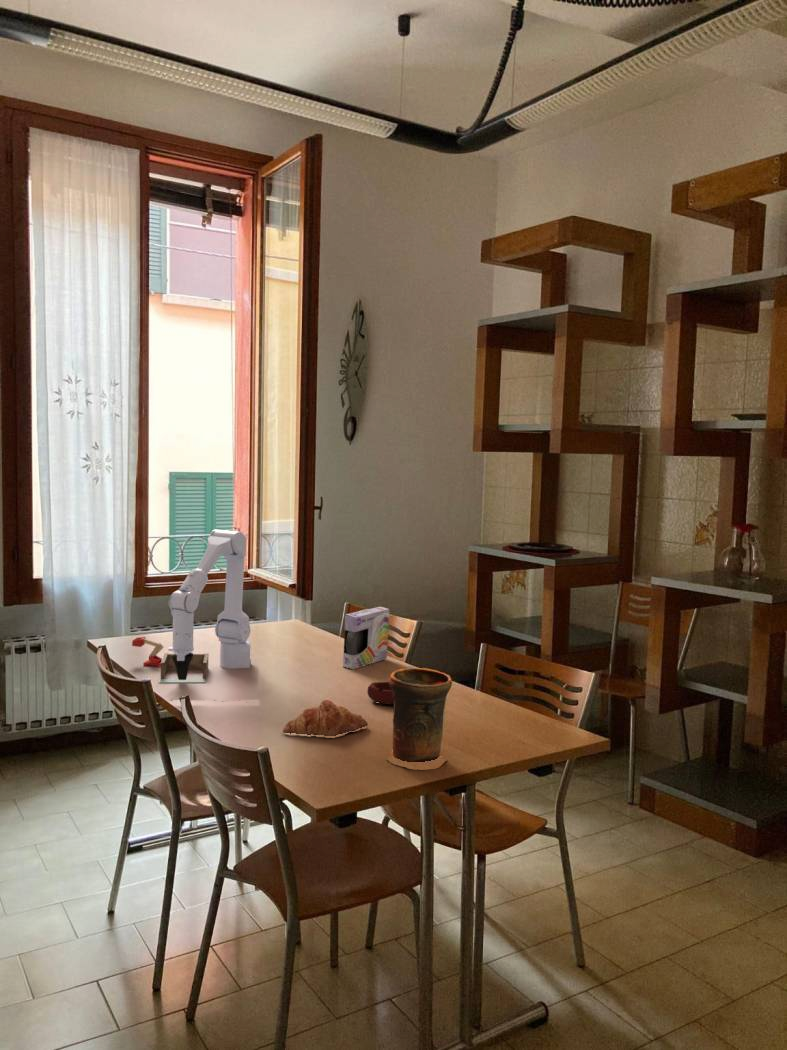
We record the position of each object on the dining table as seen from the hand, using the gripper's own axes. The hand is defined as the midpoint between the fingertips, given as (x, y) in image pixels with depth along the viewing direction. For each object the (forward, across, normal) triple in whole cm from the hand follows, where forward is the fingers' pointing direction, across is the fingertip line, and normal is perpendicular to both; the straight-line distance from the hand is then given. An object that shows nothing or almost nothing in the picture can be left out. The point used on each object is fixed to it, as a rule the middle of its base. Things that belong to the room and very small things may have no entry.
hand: (182, 679), depth 247 cm
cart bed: (+2, -10, 0) cm, 10 cm away
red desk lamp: (+3, -19, -10) cm, 22 cm away
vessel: (+3, +59, +58) cm, 82 cm away
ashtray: (+3, +14, +62) cm, 64 cm away
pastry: (+3, +38, +38) cm, 54 cm away
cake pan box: (+3, -26, +56) cm, 62 cm away
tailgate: (+1, -4, 0) cm, 5 cm away
